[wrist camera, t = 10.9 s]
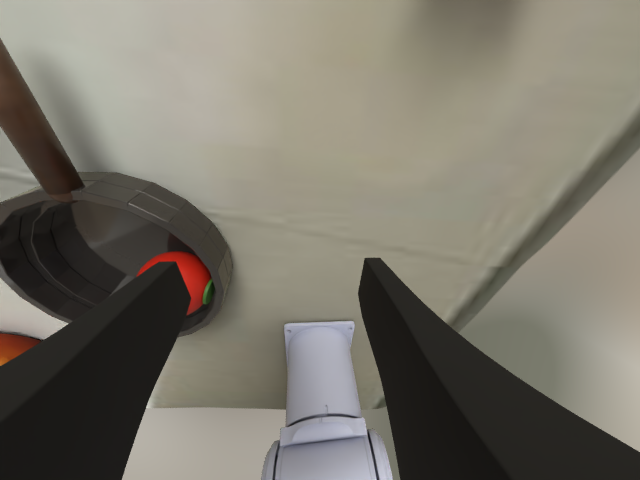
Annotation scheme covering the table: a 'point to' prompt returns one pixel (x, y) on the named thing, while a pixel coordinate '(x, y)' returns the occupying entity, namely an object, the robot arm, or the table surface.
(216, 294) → the pan
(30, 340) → the fruit
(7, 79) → the pan handle
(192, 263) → the tomato
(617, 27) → the table surface
